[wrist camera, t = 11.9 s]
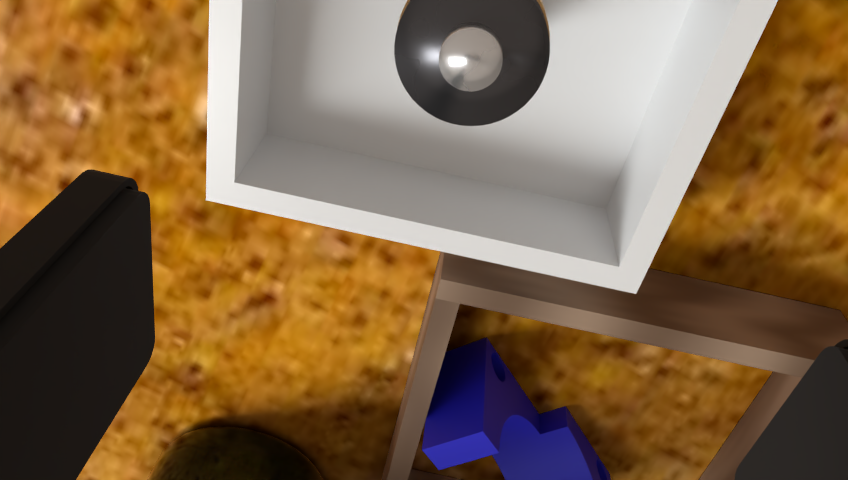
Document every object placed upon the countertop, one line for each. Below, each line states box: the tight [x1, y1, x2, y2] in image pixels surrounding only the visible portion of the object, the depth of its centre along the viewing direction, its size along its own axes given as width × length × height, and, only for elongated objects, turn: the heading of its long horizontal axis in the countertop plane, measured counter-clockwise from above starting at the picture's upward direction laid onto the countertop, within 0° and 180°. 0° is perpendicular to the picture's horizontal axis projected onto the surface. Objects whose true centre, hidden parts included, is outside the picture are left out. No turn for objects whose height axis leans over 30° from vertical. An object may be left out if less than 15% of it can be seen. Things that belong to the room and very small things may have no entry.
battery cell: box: [394, 0, 550, 126], centre depth 21 cm, size 4×4×8 cm
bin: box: [206, 0, 778, 294], centre depth 23 cm, size 16×16×5 cm
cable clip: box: [422, 337, 611, 480], centre depth 34 cm, size 12×4×6 cm, turn 30°
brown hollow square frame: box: [382, 252, 848, 480], centre depth 34 cm, size 18×18×4 cm
